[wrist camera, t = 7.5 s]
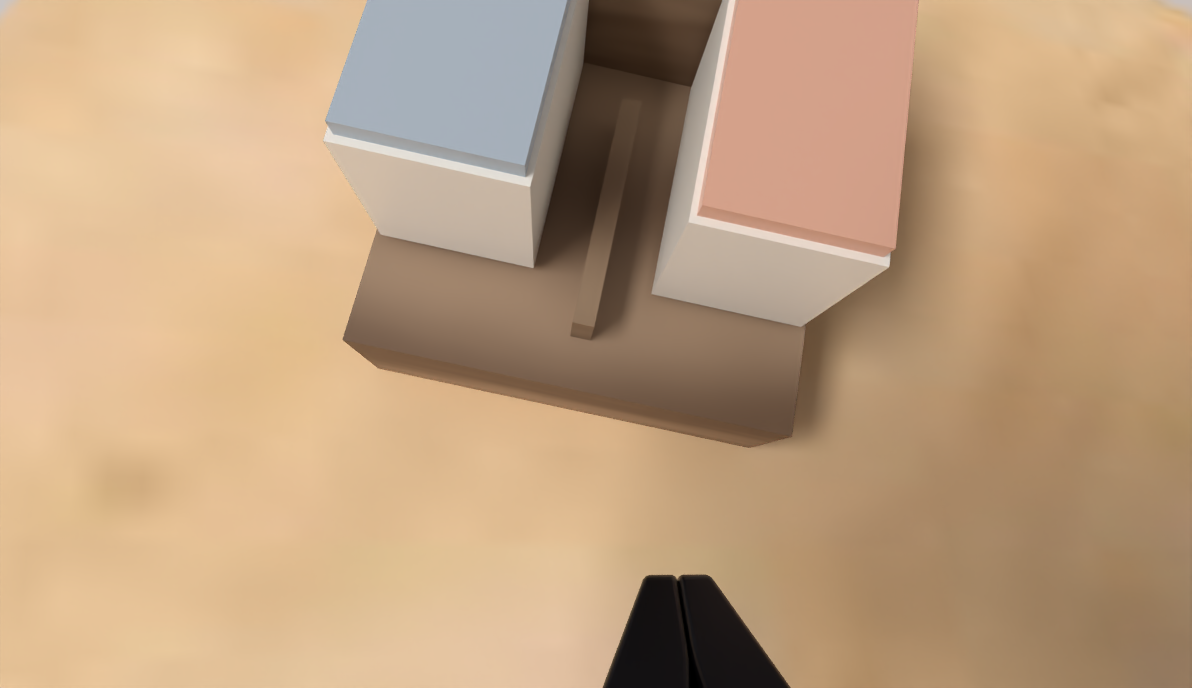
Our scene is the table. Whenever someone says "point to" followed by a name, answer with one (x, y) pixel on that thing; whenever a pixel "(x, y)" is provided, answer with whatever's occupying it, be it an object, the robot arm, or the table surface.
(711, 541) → the table surface
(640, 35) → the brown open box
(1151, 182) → the table surface
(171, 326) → the table surface
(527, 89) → the slate key
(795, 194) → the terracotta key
